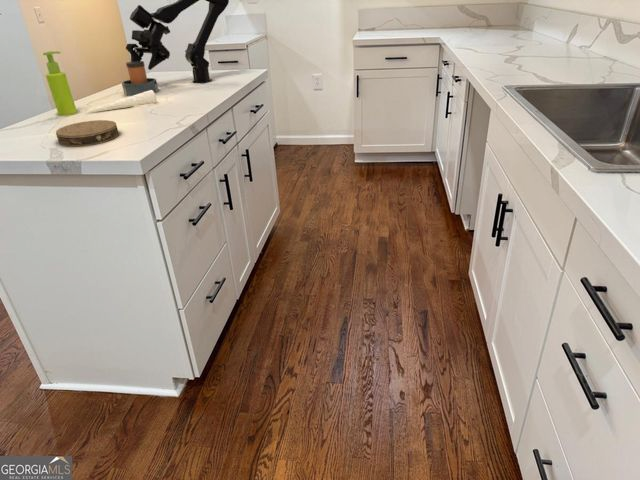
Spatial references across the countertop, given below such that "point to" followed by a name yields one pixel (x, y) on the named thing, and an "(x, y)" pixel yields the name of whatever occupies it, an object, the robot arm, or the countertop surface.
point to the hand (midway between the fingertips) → (140, 68)
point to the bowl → (139, 87)
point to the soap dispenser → (59, 87)
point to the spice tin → (137, 72)
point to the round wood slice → (87, 133)
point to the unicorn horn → (129, 101)
